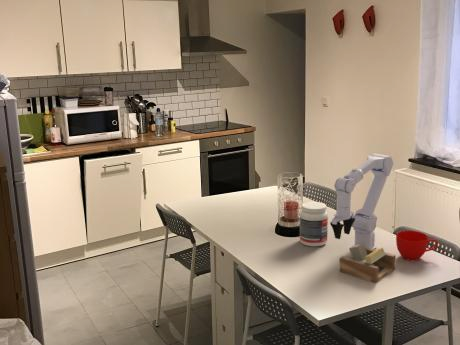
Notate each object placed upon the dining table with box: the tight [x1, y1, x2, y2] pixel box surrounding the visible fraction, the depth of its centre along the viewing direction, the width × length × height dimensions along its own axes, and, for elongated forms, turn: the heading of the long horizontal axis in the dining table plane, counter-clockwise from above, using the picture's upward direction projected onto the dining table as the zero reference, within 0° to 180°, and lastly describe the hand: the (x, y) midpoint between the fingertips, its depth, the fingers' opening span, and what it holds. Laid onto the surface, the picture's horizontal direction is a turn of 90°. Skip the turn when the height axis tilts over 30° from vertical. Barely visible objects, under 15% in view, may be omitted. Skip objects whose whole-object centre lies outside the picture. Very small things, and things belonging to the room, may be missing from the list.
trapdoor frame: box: [339, 247, 396, 284], centre depth 210 cm, size 17×16×6 cm
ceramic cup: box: [395, 230, 439, 262], centre depth 219 cm, size 13×17×10 cm
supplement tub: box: [299, 201, 329, 247], centre depth 239 cm, size 13×13×18 cm
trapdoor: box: [360, 247, 387, 265], centre depth 210 cm, size 12×11×3 cm
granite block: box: [349, 244, 367, 261], centre depth 212 cm, size 4×4×6 cm
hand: (342, 236), depth 220 cm, fingers open, 7 cm apart
